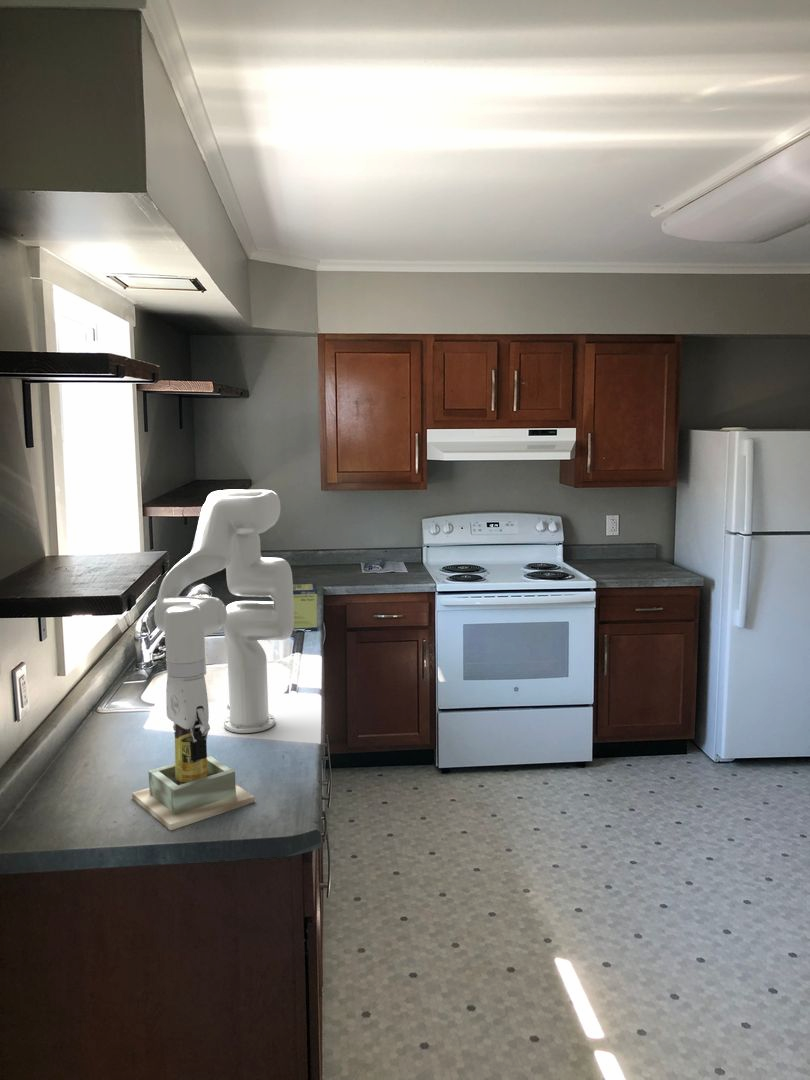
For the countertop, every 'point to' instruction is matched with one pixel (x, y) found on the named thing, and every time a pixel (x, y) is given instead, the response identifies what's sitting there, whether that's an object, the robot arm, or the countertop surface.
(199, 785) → the tray
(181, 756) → the sauce bottle
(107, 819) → the countertop surface
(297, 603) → the protein box
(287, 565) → the robot arm
